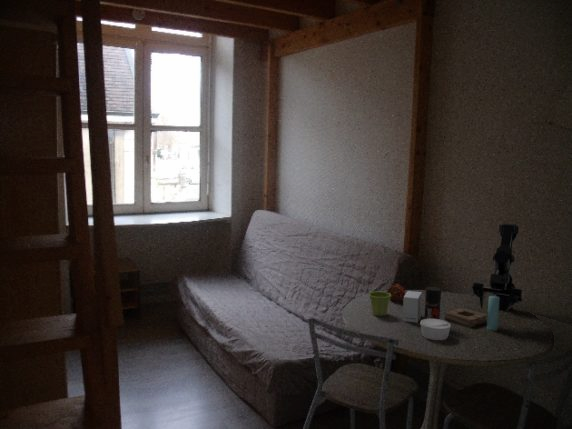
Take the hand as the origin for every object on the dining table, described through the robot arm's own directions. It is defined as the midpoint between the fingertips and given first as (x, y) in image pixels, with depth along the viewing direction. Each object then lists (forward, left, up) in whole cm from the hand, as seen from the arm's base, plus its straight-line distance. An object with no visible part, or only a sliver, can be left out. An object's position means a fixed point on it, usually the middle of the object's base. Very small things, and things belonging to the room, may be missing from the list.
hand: (493, 309), depth 207 cm
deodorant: (+16, -17, -8) cm, 25 cm away
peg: (0, 0, -8) cm, 8 cm away
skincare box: (+16, -27, -8) cm, 32 cm away
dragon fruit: (+1, -49, -8) cm, 50 cm away
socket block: (0, -12, -8) cm, 14 cm away
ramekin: (+26, -8, -8) cm, 28 cm away
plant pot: (+23, -39, -8) cm, 46 cm away
